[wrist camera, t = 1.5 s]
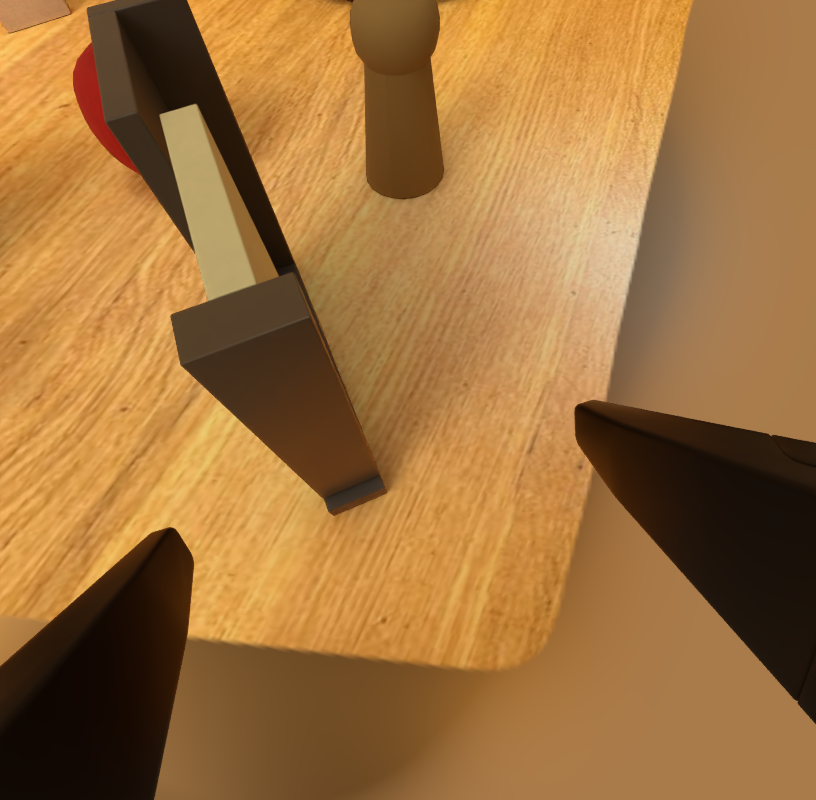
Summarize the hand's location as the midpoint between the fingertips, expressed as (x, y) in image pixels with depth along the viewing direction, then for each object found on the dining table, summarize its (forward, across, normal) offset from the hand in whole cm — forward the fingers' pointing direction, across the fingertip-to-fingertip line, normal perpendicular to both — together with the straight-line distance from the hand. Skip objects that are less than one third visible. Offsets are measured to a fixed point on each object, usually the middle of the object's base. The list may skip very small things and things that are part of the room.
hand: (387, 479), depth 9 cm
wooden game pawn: (+29, -8, -6) cm, 31 cm away
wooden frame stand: (+17, +3, +4) cm, 17 cm away
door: (+14, +2, +4) cm, 14 cm away
